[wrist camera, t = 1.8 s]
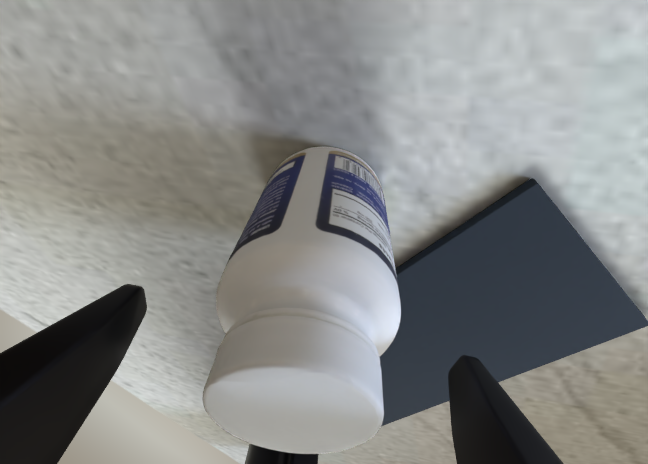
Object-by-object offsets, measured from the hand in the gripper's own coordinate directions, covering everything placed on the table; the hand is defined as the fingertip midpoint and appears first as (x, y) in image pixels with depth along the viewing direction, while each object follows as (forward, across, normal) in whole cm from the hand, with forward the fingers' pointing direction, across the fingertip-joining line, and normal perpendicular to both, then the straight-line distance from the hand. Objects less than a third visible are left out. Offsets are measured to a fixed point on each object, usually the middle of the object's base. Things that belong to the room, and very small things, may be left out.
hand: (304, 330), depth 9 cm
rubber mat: (+7, -8, +8) cm, 14 cm away
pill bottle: (+8, 0, 0) cm, 8 cm away
